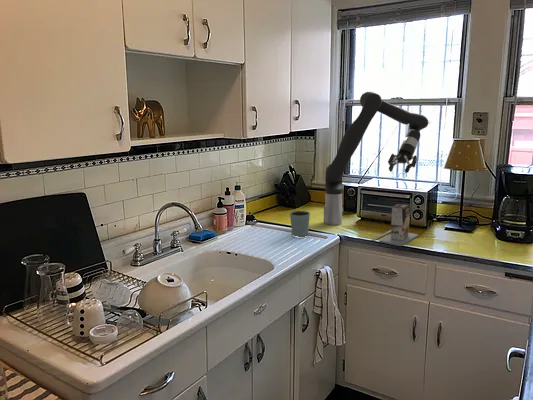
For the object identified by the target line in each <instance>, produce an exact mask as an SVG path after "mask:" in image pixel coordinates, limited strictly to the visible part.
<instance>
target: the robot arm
mask: <svg viewBox="0 0 533 400" xmlns="http://www.w3.org/2000/svg"><path fill="white" fill-rule="evenodd" d="M359 103H360V105H361V108H362V109H361V111H360V112H359V115H357V118H355V120H354V121H353V122H351V123H350V125H349V126H348V127H347V129H346V131H345V133H344V134H343V136H342V139H341V141H340V144H339V147H338V150H337V153H336V155H335V157H334V158H333V160H332V161H331V163H330V164H328V166H326V168H325V176H324V177H325V183H324V184H325V190H324V191H325V198H324V199H325V200H324V201H325V202H324V203H325V205H324V206H323V223H325V224H326V225H329V224H330V225H331V226H337V225H341V224H342V223H343V219H342V218H343V175H344V173H345V170H346V168H347V166H348V163H349V161H350V160H351V158H352V156H353V155H354V153H355V152H356V150H357V149H358V146H359V145H360V143H361V141H362V139H363V137H364V135H365V133H366V131H367V130H368V127H369V125H370V123H371V122H372V120H373V119H374V117H375V115H376V114H377V112H378V113H381V114H383V115H385V116H387V117H388V118H390V119H392V120H393V121H396V122H398V123H400V124H402V125H406V126H407V125H408V126H407V133H406V136H405V137H404V138H403V139H404V140H403V141H402V143H401V146H400V148H399V150H398V152H397V154H394V153H391V154H390V156H389V159H388V160H387V163H388V165H389V167H388V171H389V173H390V172H391V173H392V171H393V169H394V167H395V166H396V165H398V164H404V165H406V164H407V165H406V166H405V169H404V174H408V173H410V170H411V168H415V167H416V164H417V162H418V157H417V155H414V154H415V151H416V149H417V147H418V143H419V141H420V138H421V133H420V131H421V130H424V129H425V128H427V127H428V126H429V119H428V118H427V116H425V115H423V114H420V113H416V112H411V111H408V110H407V109H404V108H402V107H401V106H400V107H399V106H396V105H395V104H392V103H389V102H387V101H385V100H383V99H382V96H381V95H380V94H379V93H376V92H373V91H366V92H363V93H362V94H361V95H360V99H359ZM410 161H411V163H410Z"/></svg>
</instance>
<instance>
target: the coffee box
mask: <svg viewBox="0 0 533 400" xmlns="http://www.w3.org/2000/svg"><path fill="white" fill-rule="evenodd" d="M410 213H411V205H410V204H406V203H397V204H395V205H393V206H391V225H390V226H391V227H390V230H391V232H390V235H391V239H396V240H404V239H405V238H406V237H408V234H409V233H410V230H409V229H410Z"/></svg>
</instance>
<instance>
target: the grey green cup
mask: <svg viewBox="0 0 533 400" xmlns="http://www.w3.org/2000/svg"><path fill="white" fill-rule="evenodd" d="M310 215H311V213H310V212H309V211H306V210H296V211H295V210H294V211H291V212H290V213H289V217H290V218H289V219H290V228H291V236H292V235H294V236H298V237H305V236H307V235H308V236H309V234H308V232H309V230H310V229H309V227H310V218H311V217H310ZM309 233H310V232H309Z"/></svg>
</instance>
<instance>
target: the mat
mask: <svg viewBox="0 0 533 400" xmlns="http://www.w3.org/2000/svg"><path fill="white" fill-rule="evenodd" d="M418 237H419V234H417V233H412V232H409V234H408V237H406V238H405V239H404V240H396V239H391V234H388V235H387V236H385V237H383V238H381V239H379V243H382V242H383V243H384V244H388V245H391V246H398V247H402V246H404V245H405V244H408V243H409V242H410V241H412V240H414V239H416V238H418Z"/></svg>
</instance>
